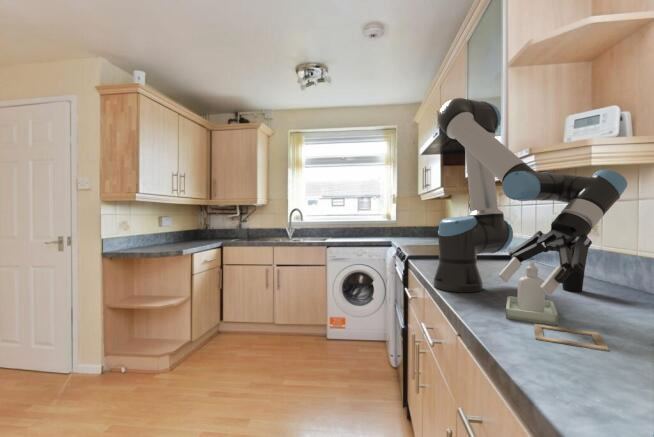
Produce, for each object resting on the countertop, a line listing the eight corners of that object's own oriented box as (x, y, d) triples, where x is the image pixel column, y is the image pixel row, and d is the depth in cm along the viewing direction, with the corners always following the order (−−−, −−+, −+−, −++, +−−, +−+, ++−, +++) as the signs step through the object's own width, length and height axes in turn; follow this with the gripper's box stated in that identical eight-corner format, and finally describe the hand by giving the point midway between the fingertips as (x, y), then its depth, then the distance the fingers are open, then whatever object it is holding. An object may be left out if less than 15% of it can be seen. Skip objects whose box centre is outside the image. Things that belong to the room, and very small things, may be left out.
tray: (505, 318, 75) (505, 308, 75) (507, 304, 87) (507, 296, 87) (558, 325, 70) (558, 315, 70) (552, 309, 81) (552, 300, 81)
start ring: (535, 339, 63) (535, 337, 63) (534, 325, 71) (534, 323, 71) (608, 351, 58) (608, 349, 58) (598, 334, 65) (598, 332, 65)
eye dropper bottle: (517, 305, 82) (519, 259, 81) (544, 309, 79) (545, 261, 78) (516, 311, 78) (518, 262, 77) (544, 315, 75) (546, 265, 74)
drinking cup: (593, 294, 96) (593, 227, 95) (562, 292, 98) (562, 227, 98) (581, 288, 103) (581, 226, 103) (553, 286, 105) (553, 226, 105)
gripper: (640, 235, 68) (579, 309, 66) (543, 229, 93) (496, 283, 91) (619, 210, 67) (556, 285, 65) (527, 211, 92) (479, 265, 90)
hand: (521, 284), depth 78 cm, fingers open, 13 cm apart
